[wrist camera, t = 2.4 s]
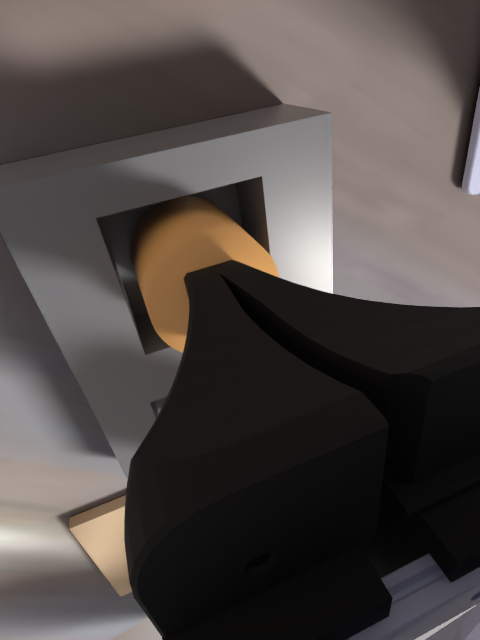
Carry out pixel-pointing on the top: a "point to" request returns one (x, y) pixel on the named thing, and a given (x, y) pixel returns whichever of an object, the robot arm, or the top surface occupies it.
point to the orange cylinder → (185, 257)
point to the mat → (105, 541)
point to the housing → (121, 220)
